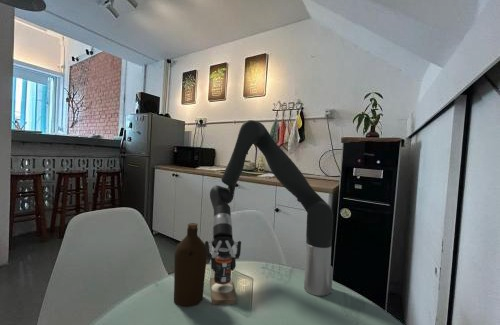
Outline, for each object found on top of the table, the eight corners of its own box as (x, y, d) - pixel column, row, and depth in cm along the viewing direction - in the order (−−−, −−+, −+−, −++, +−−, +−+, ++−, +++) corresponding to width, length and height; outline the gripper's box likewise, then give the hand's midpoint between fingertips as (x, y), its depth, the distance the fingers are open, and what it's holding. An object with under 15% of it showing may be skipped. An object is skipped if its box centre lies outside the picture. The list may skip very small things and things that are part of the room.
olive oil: (210, 301, 80) (214, 225, 81) (180, 312, 73) (185, 229, 74) (194, 288, 88) (198, 219, 89) (166, 297, 81) (170, 222, 82)
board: (230, 281, 95) (230, 276, 95) (236, 303, 80) (236, 298, 80) (209, 281, 94) (210, 277, 94) (211, 305, 78) (212, 300, 78)
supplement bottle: (227, 286, 84) (229, 253, 84) (211, 283, 85) (213, 251, 85) (232, 278, 89) (234, 247, 90) (217, 276, 91) (218, 245, 91)
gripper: (204, 222, 93) (203, 266, 81) (241, 222, 96) (245, 265, 84) (203, 232, 98) (202, 274, 87) (238, 232, 101) (242, 273, 89)
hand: (223, 269), depth 85 cm, fingers closed on supplement bottle, 6 cm apart
